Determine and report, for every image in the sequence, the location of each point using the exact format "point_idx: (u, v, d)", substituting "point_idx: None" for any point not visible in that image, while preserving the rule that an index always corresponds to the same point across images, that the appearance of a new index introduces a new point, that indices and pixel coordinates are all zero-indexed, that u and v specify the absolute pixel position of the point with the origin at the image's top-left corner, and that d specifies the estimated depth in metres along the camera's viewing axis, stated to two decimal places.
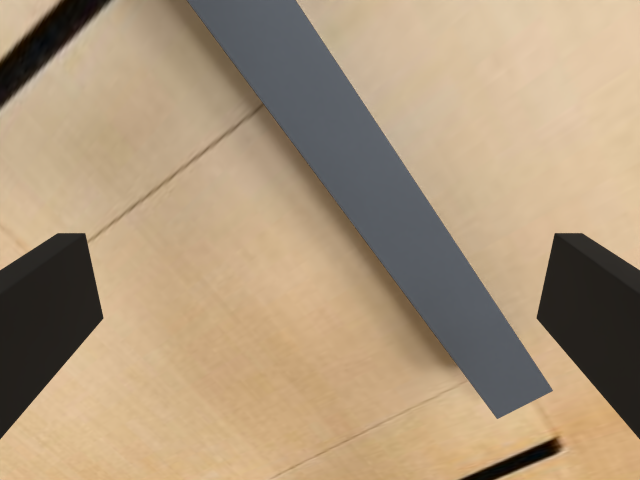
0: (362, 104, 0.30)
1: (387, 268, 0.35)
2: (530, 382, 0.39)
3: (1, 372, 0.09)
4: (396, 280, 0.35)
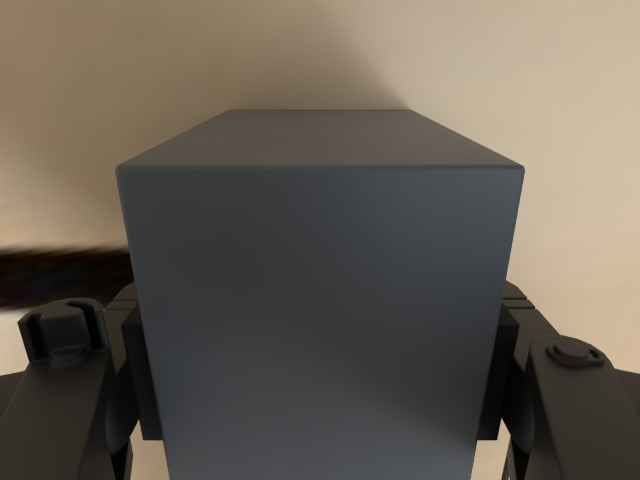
0: None
1: None
2: None
3: None
4: None
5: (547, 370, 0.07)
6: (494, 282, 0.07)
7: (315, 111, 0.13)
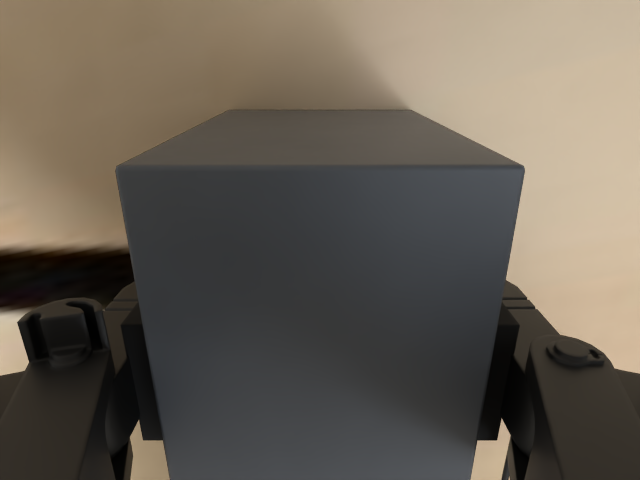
0: None
1: None
2: None
3: None
4: None
5: (547, 370, 0.07)
6: (494, 282, 0.07)
7: (315, 111, 0.13)
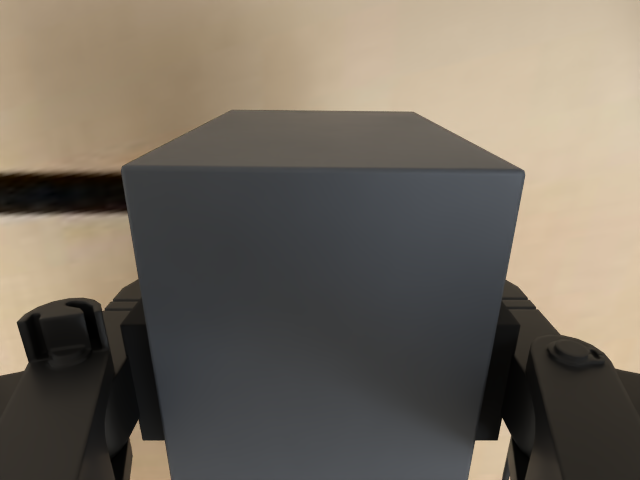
0: None
1: None
2: None
3: None
4: None
5: (549, 370, 0.07)
6: (493, 284, 0.07)
7: (318, 112, 0.13)
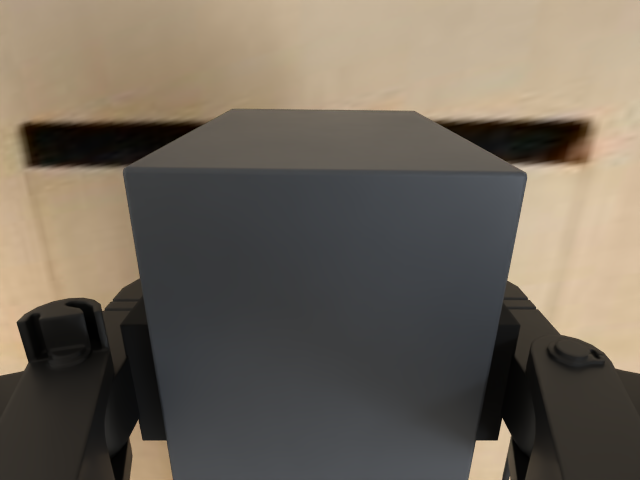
0: None
1: None
2: None
3: None
4: None
5: (548, 371, 0.07)
6: (495, 286, 0.07)
7: (318, 111, 0.13)
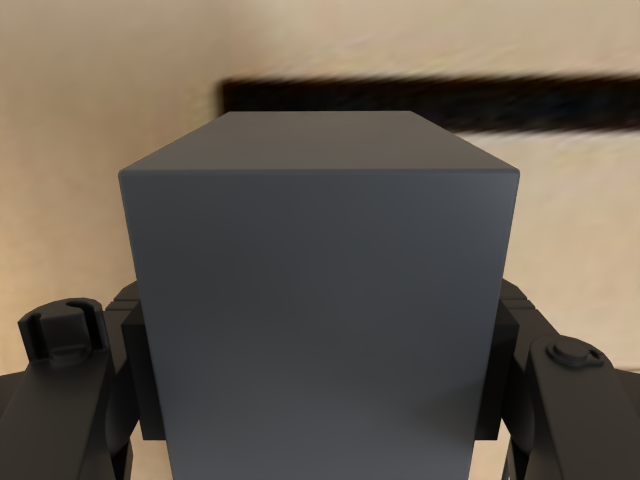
0: None
1: None
2: None
3: None
4: None
5: (548, 371, 0.07)
6: (491, 283, 0.07)
7: (315, 113, 0.13)
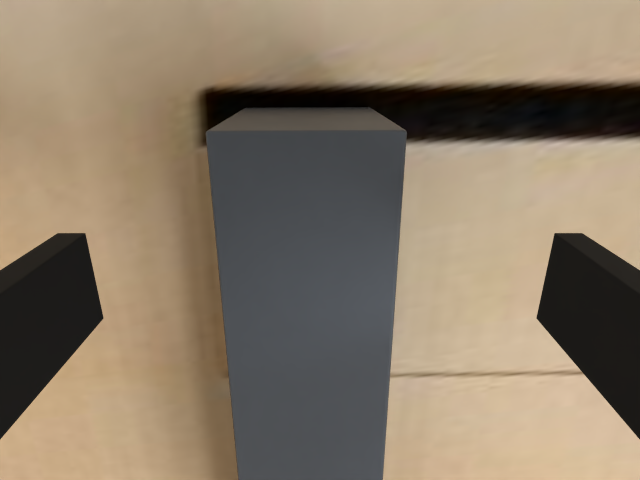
0: None
1: None
2: None
3: (1, 372, 0.09)
4: None
5: None
6: (396, 191, 0.13)
7: (304, 108, 0.19)
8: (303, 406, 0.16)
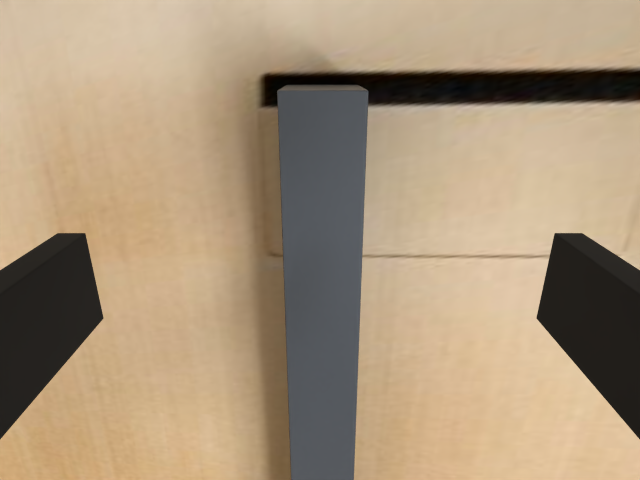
0: (355, 403, 0.36)
1: None
2: None
3: (1, 372, 0.09)
4: None
5: None
6: (364, 119, 0.27)
7: None
8: (319, 236, 0.30)
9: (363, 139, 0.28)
